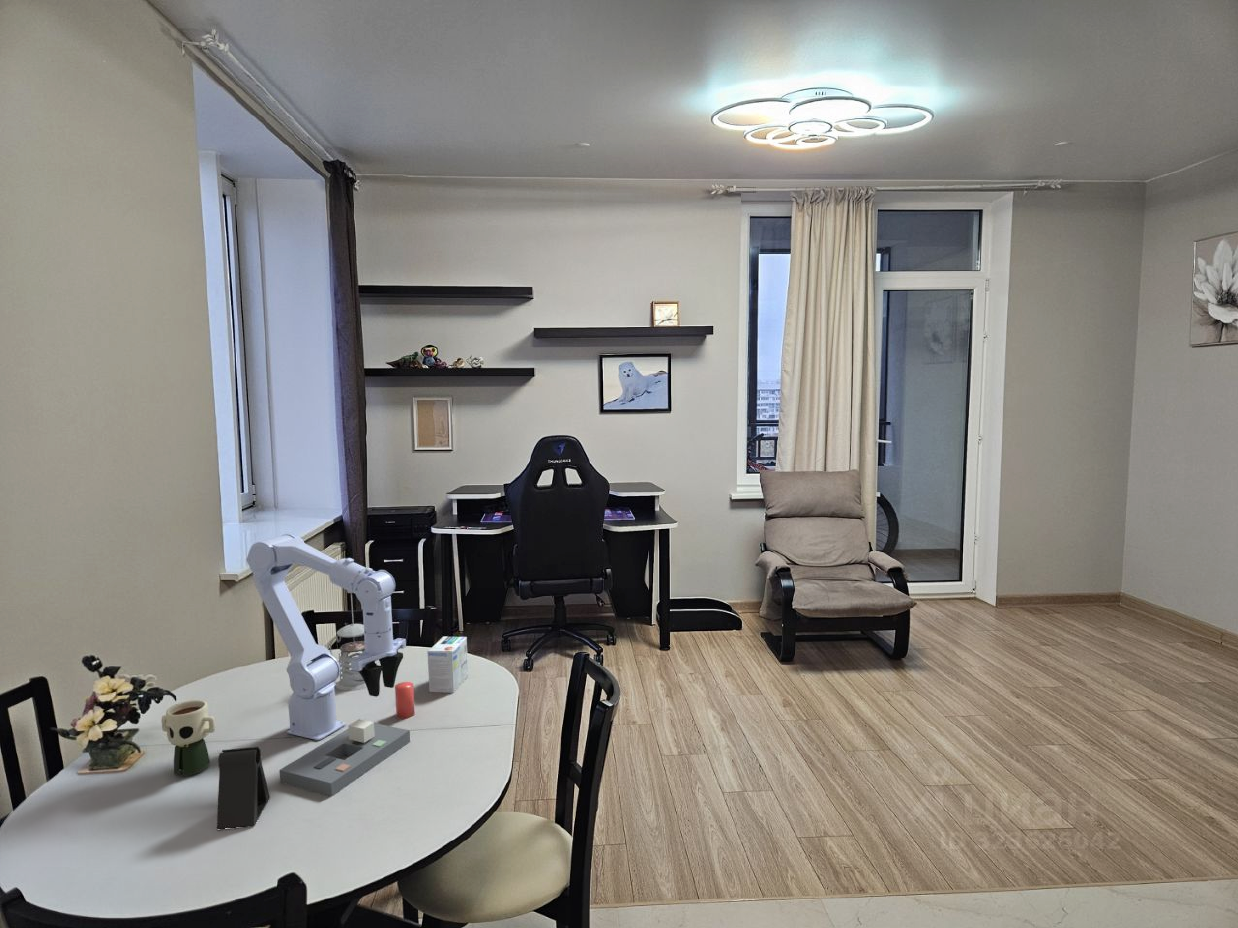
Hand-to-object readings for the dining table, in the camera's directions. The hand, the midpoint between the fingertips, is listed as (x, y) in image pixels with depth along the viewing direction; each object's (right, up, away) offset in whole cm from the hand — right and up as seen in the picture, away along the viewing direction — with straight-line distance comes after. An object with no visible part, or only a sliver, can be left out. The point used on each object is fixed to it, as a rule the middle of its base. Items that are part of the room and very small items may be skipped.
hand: (381, 690), depth 154 cm
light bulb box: (+8, -8, +29) cm, 31 cm away
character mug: (-34, -13, -11) cm, 38 cm away
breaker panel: (-4, -11, -8) cm, 15 cm away
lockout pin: (+2, -9, +12) cm, 15 cm away
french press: (-18, -8, +31) cm, 36 cm away
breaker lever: (-2, -8, -5) cm, 10 cm away
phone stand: (-16, -14, -26) cm, 34 cm away
